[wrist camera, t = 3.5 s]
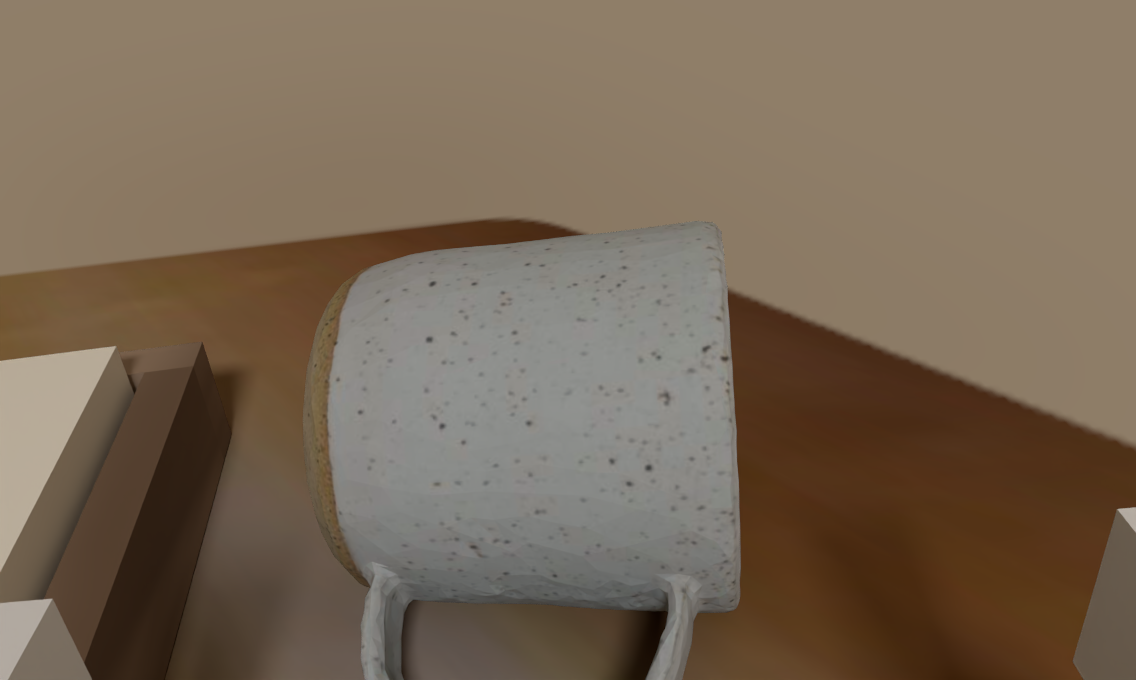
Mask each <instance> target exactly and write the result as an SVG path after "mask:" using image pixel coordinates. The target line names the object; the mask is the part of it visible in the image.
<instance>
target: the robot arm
mask: <svg viewBox="0 0 1136 680" xmlns="http://www.w3.org/2000/svg"><path fill="white" fill-rule="evenodd" d="M1073 663H1074V664H1075V666H1076V668H1077V669H1078V671H1079V673H1080V674H1081V676H1082V678H1083V679H1084V680H1136V508H1124V509H1117V512H1116V515H1115V518H1114V522H1113V525H1112V529H1111V532H1110V536H1109V539H1108V543H1107V546H1106V549H1105V553H1104V556H1103V560H1102V563H1101V567H1100V570H1099V573H1098V577H1097V580H1096V584H1095V587H1094V591H1093V594H1092V597H1091V601H1090V604H1089V608H1088V611H1087V615H1086V618H1085V621H1084V625H1083V628H1082V632H1081V635H1080V639H1079V642H1078V645H1077V649H1076V652H1075V656H1074V659H1073ZM0 680H92V678H91V676H90V674H89V672H88V670H87V668H86V666H85V664H84V662H83V660H82V658H81V656H80V654H79V652H78V650H77V648H76V646H75V643H74V641H73V639H72V637H71V635H70V633H69V631H68V629H67V627H66V625H65V623H64V621H63V619H62V617H61V615H60V613H59V611H58V609H57V607H56V605H55V603H54V601H53V599H43V600H31V601H19V602H7V603H0Z"/></svg>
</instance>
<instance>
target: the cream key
mask: <svg viewBox="0 0 1136 680" xmlns="http://www.w3.org/2000/svg"><path fill="white" fill-rule="evenodd" d="M133 397H134V393H133V390H132V387H131V385H130V382H129V379H128V376H127V374H126V371H125V368H124V366H123V363H122V360H121V358H120V355H119V352H118V349H117V347H116V346H113V347H106V348H98V349H90V350H82V351H75V352H67V353H59V354H51V355H43V356H36V357H28V358H20V359H12V360H5V361H0V603H7V602H19V601H31V600H43V599H44V597H45V595H46V592H47V590H48V588H49V586H50V583H51V581H52V579H53V577H54V574H55V572H56V570H57V568H58V565H59V563H60V561H61V559H62V556H63V554H64V552H65V550H66V547H67V545H68V543H69V541H70V538H71V536H72V534H73V532H74V530H75V527H76V525H77V523H78V521H79V518H80V516H81V514H82V512H83V509H84V507H85V505H86V503H87V500H88V498H89V496H90V494H91V491H92V489H93V487H94V485H95V482H96V480H97V478H98V476H99V473H100V471H101V469H102V467H103V464H104V462H105V460H106V458H107V455H108V453H109V451H110V449H111V446H112V444H113V442H114V440H115V437H116V435H117V433H118V431H119V428H120V426H121V424H122V422H123V419H124V417H125V415H126V413H127V410H128V408H129V406H130V404H131V401H132V399H133Z"/></svg>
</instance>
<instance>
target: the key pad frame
mask: <svg viewBox="0 0 1136 680" xmlns="http://www.w3.org/2000/svg"><path fill="white" fill-rule="evenodd" d="M119 355H120V358H121V360H122V363H123V366H124V368H125V371H126V374H127V376H128V379H129V382H130V385H131V387H132V390H133V393H134V397H133V399H132V401H131V404H130V406H129V408H128V410H127V413H126V415H125V417H124V419H123V422H122V424H121V426H120V428H119V431H118V433H117V435H116V437H115V440H114V442H113V444H112V446H111V449H110V451H109V453H108V455H107V458H106V460H105V462H104V464H103V467H102V469H101V471H100V473H99V476H98V478H97V480H96V482H95V485H94V487H93V489H92V491H91V494H90V496H89V498H88V500H87V503H86V505H85V507H84V509H83V512H82V514H81V516H80V518H79V521H78V523H77V525H76V527H75V530H74V532H73V534H72V536H71V538H70V541H69V543H68V545H67V547H66V550H65V552H64V554H63V556H62V559H61V561H60V563H59V565H58V568H57V570H56V572H55V574H54V577H53V579H52V581H51V583H50V586H49V588H48V590H47V592H46V595H45V597H44V599H53V601H54V603H55V605H56V607H57V609H58V611H59V613H60V615H61V617H62V619H63V621H64V623H65V625H66V627H67V629H68V631H69V633H70V635H71V637H72V639H73V641H74V643H75V646H76V648H77V650H78V652H79V654H80V656H81V658H82V660H83V662H84V664H85V666H86V668H87V670H88V672H89V674H90V676H91V678H92V680H164V678H165V674H166V671H167V667H168V663H169V660H170V656H171V652H172V649H173V645H174V641H175V638H176V634H177V631H178V627H179V623H180V620H181V616H182V612H183V609H184V605H185V601H186V598H187V594H188V590H189V587H190V583H191V579H192V576H193V572H194V569H195V565H196V561H197V558H198V554H199V550H200V547H201V543H202V539H203V536H204V532H205V528H206V525H207V521H208V518H209V514H210V510H211V507H212V503H213V499H214V496H215V492H216V488H217V485H218V481H219V477H220V474H221V470H222V467H223V463H224V459H225V456H226V452H227V448H228V445H229V441H230V437H231V431H230V428H229V425H228V421H227V418H226V415H225V412H224V409H223V406H222V402H221V399H220V396H219V393H218V390H217V387H216V383H215V380H214V377H213V374H212V371H211V368H210V364H209V361H208V358H207V355H206V352H205V349H204V345H203V342H196V343H188V344H181V345H173V346H165V347H157V348H150V349H142V350H134V351H126V352H119Z"/></svg>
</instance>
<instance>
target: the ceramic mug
mask: <svg viewBox="0 0 1136 680" xmlns="http://www.w3.org/2000/svg"><path fill="white" fill-rule="evenodd" d="M721 234H722V233H721V231H720V229H719V228H718V227H717V225H716V224H714V223H713V222H699V221H694V222H687V223H679V224H671V225H664V226H657V227H648V228H641V229H633V230H626V231H619V232H611V233H600V234H589V235H579V236H570V237H561V238H553V239H545V240H537V241H528V242H520V243H512V244H502V245H490V246H478V247H465V248H455V249H445V250H435V251H429V252H423V253H417V254H412V255H408V256H405V257H402V258H398V259H395V260H391V261H388V262H385V263H381V264H378V265H375V266H372V267H368V268H365V269H363V270H361V271H360V272H358V273H357V274H356V275H354V276H353V277H352V278H350V279H349V280H347V281H346V282H345V283H343V284H342V285H341V287H340V288H339V289H338V291H337V292H336V294H335V295H334V296H333V298H332V299H331V300H330V302H329V303H328V305H327V307H326V309H325V311H324V314H323V316H322V318H321V320H320V322H319V324H318V327H317V330H316V334H315V338H314V342H313V346H312V350H311V355H310V359H309V363H308V367H307V374H306V385H305V397H304V410H303V439H304V456H305V465H306V474H307V482H308V486H309V490H310V494H311V499H312V503H313V507H314V511H315V515H316V518H317V520H318V523H319V526H320V529H321V532H322V534H323V536H324V538H325V540H326V542H327V544H328V546H329V547H330V549H331V551H332V553H333V555H334V557H335V558H336V559H337V560H338V561H339V562H340V563H341V564H342V565H343V566H344V567H345V568H346V569H347V570H348V572H349V573H350V574H351V575H352V576H353V577H354V578H355V579H356V580H357V581H358V582H359V583H360V584H362V585H364V586H366V587H369V588H370V590H369V592H368V594H367V596H366V598H365V606H364V615H363V619H362V623H361V635H362V645H361V663H362V667H363V672H364V677H365V680H404V679H403V676H402V673H401V654H402V649H401V636H402V628H403V621H404V613H405V611H406V608H407V606H408V604H409V603H410V602H411V601H412V600H422V601H436V602H456V603H498V604H547V605H558V606H571V607H583V608H595V609H616V610H641V611H667V612H668V616H667V621H666V626H665V630H664V632H663V634H662V636H661V638H660V642H659V646H658V649H657V652H656V654H655V657H654V659H653V662H652V664H651V667H650V669H649V671H648V674H647V676H646V679H645V680H682V678H683V674H684V670H685V666H686V662H687V658H688V654H689V651H690V647H691V643H692V632H693V621H694V619H695V617H696V614H697V613H722V612H729V611H732V610H735V609H736V608H737V605H738V603H739V600H740V599H739V598H740V569H741V565H740V516H739V480H738V468H737V452H736V433H737V431H736V421H735V410H734V391H733V372H732V356H731V346H730V325H729V311H728V301H727V287H728V286H727V282H726V271H725V265H724V252H723V244H722V237H721Z"/></svg>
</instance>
